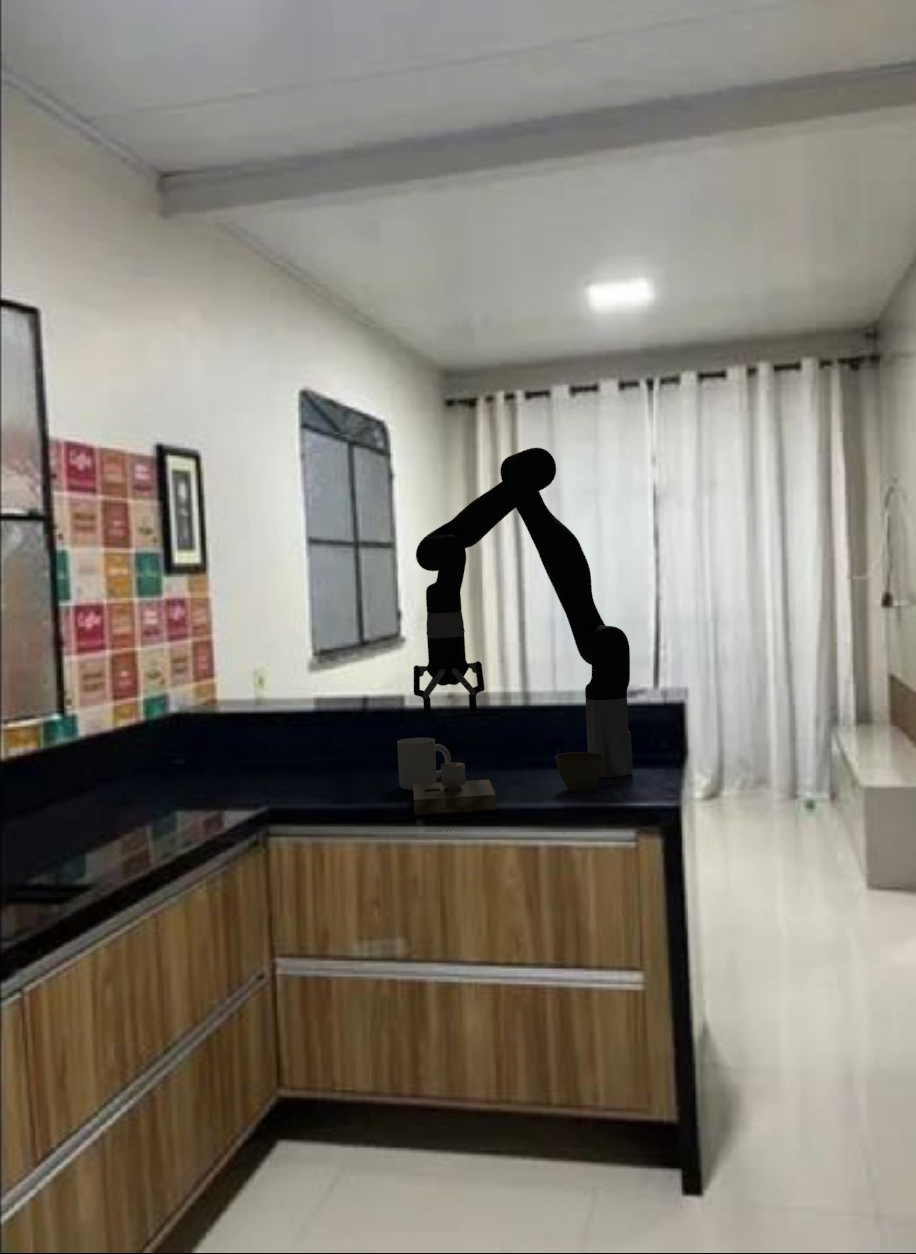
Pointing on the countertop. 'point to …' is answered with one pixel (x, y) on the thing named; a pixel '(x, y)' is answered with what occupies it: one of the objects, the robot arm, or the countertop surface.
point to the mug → (419, 761)
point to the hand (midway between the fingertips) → (450, 714)
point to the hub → (453, 798)
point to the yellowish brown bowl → (580, 770)
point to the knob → (453, 775)
